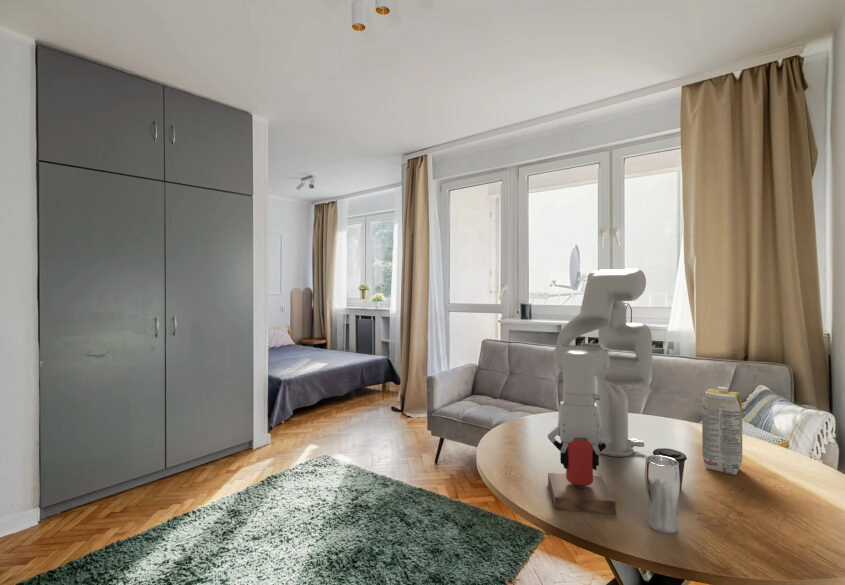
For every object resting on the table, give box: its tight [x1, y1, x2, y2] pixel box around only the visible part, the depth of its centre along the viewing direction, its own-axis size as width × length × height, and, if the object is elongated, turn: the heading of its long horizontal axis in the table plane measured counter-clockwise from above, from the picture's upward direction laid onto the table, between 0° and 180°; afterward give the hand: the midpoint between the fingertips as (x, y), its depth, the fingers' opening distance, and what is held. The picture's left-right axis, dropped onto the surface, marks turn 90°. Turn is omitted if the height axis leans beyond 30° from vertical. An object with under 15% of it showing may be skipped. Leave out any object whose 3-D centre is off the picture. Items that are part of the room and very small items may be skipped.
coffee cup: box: [652, 448, 688, 493], centre depth 116 cm, size 8×8×10 cm
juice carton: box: [701, 386, 743, 476], centre depth 127 cm, size 9×8×24 cm
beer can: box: [565, 438, 594, 486], centre depth 111 cm, size 7×7×12 cm
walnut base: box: [547, 472, 617, 515], centre depth 111 cm, size 14×14×3 cm
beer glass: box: [644, 454, 680, 534], centre depth 98 cm, size 7×7×15 cm
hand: (579, 466), depth 111 cm, fingers closed on beer can, 6 cm apart
